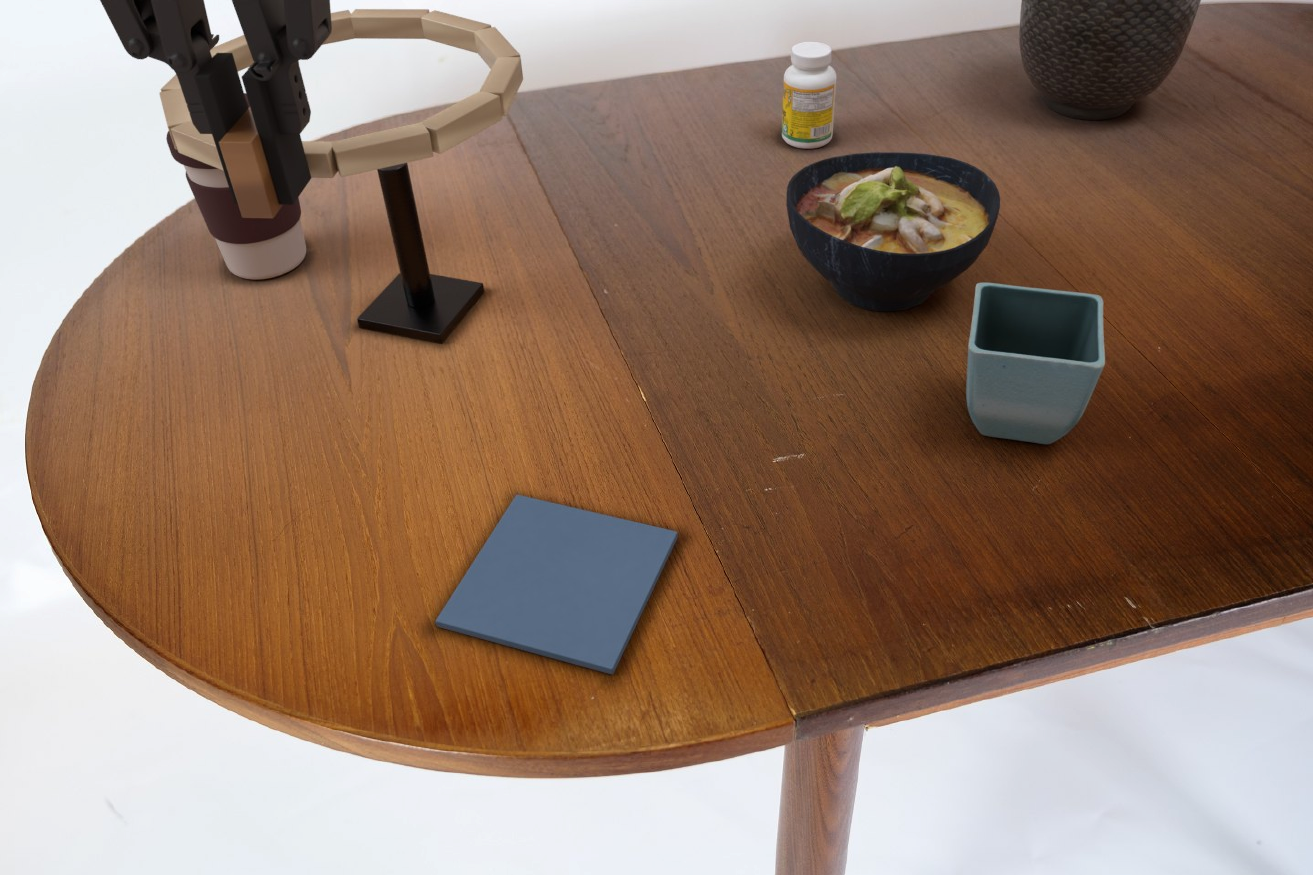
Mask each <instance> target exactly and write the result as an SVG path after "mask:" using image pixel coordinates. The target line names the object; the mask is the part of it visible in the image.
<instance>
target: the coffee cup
mask: <svg viewBox="0 0 1313 875" xmlns="http://www.w3.org/2000/svg"><path fill="white" fill-rule="evenodd" d="M244 95H245V98H246V102H247V105H248V108H249V107H250V105H249V101H248V98H247V94H246V92H244ZM165 139H166V144H167V146H168V150H169V152H170V155H171V157H172V159H173V160H175V161H176V162H177V163H178V164H180V165H182V166H183V167H184V170H185V178H186V181H187V184H188V185H189V188H190V190H191V193H192V195H193V197H194V199H195V203H196V204H197V206H198V209H199V211H200V213H201V216H202V218H203V220H204V222H205V225H206V227H207V230H208V231H209V233H210V235H211V236H212V237H213V238H214V239H215V242H216V244H217V246H218V249H219V251H220V253H221V256H222V259H223V260H224V262H225V265H226V267H227V269H228V270H229V272H230V273H232V274H233V275H235V276H236V277H239V278H242V279H246V280H267V279H272V278H276V277H279V276H282V275H284V274H286V273H289V272H291V271H293V270H294V269H295V268H297V267H298V266H300V265H301V263H302V262H303V261H304V259H305V257H306V254H307V245H306V240H305V234H304V230H303V225H302V220H301V216H302V208H301V203H300V198H299V197H300V196H299V197H298V198H297V200H296V201H295V203H294V204H293V205H282V207H281V208H280V210H279V211H278V212H277V214H276V215H275V217H274V218H243V217H242V215H241V212H240V209H239V205H238V204H234V202H233V199H232V195H231V192H230V189H229V186H228V183H227V180H226V177H225V173H224V171H223V170H221V169H218V168H216V167H213V166H211V165H208V164H206V163H203V162H201V161H198V160H196V159H193V158H191V157H188V156H186V155H183V154H181V153H179V152H178V149H177V150H176V149H175V147H174V144H173V141H172V138H171V135H170V132H169V130H168V131H167V134H166V138H165Z"/></svg>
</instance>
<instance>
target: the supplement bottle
mask: <svg viewBox="0 0 1313 875" xmlns="http://www.w3.org/2000/svg"><path fill="white" fill-rule="evenodd" d="M832 51H833V50H832V48H831V46H829V45H828V44H826V43H823V42H819V41H803V42H799V43H796V44H794V45H793V46H792V47H791V52H790V62H791V65H790V66H789V67H787V68H786V70H785V72H784V74H783V85H782V86H783V87H782V88H783V90H782V115H781V137H782V139H783V140H784V141H785V143H787V144H788V145H789V146H792V147H794V148H798V149H804V150H805V149H807V150H810V149H817V148H821V147H824V146H826V145H828V144H829V143H830V142H831V140H832V139H833V134H834V121H835V120H834V119H835V108H836V106H835V105H836V92H837V73H836V71H835V69H834V68H833V67H832V66H831V65H830V64H831V63H832Z"/></svg>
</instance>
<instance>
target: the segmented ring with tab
mask: <svg viewBox="0 0 1313 875" xmlns="http://www.w3.org/2000/svg"><path fill="white" fill-rule="evenodd" d="M331 24H332V31H331V34H330V35H329V37H328V38H327V39H326V41H325V42H324V43H323V44H322V45H321V46H323V45H328V44H333V43H334V44H335V43H339V42H344V41H350V40H354V39H357V40H358V39H361V40H362V39H365V40H366V39H368V40H369V39H373V40H374V39H375V40H376V39H377V40H380V39H384V40H386V39H388V40H389V39H391V40H392V39H393V40H394V39H395V40H420V39H421V40H428V41H432V42H434V43H439V44H441V45H446V46H449V47H454V48H457V49H461V50H464V51H468V52H471V53H475V54H477V55H478V56H479V57H480V58H481V60H482V61H483V62H484V63H485V64H486V65H487V67H488V68H489V69H490V71H489V72H488V75H487V76H486V78H485V80H484V81H483V84H482V85H481V87H480V89H479V90H478V91H477V92H475V93H473V94H471V95H469V96H468V97H466V98H464V99H461V100H460V101H458V102H455V103H453V104H452V105H450V106H448V107H447V108H445V109H443V110H441V111H439V112H437V113H434V114H433V115H431V116H430V117H428V118H425V119H424V120H422V121H420V122H417V123H416V122H415V123H412V124H407V125H403V126H399V127H398V126H397V127H394V128H389V129H384V130H378V131H375V132H370V133H366V134H360V135H357V136H352V137H347V138H342V139H337V140H334V141H333V140H332V141H316V140H315V141H311V140H309V141H308V140H302V144H303V148H304V152H305V155H306V159H307V163H308V167H309V170H310V174H311V179H334V177H335V176H336V175H337V173H338V174H339V176H340V177H341V178H346V177H350V176H355V175H358V174H359V175H360V174H363V173H368V172H374V171H376V170H377V169H381V168H386V167H390V166H395V165H399V164H404V163H407V164H408V163H412V162H416V161H420V160H425V159H430V158H433V157H434V153H436V154H438V155H442V154H444V153H446V152H448V151H449V150H450V149H452V148H455V147H456V146H458V145H460V144H461V143H463V142H465V141H467V140H469V139H470V138H472V137H474V136H476V135H477V134H479V133H481V132H483V131H485V130H486V129H488V128H490V127H491V126H493V125H495V124H498V123H499V122H501V121H503V117H506V116H507V115H508V112H509V111H510V108H511V106H512V104H513V102H514V100H515V98H516V96H517V94H518V91H519V89H520V87H521V85H522V84H523V81H524V73H523V65H522V58H521V53H520V52H518V50H517V49H515V47H514V46H513V45H512V44H511V43H510V42H509V41H508V39H507V38H506V37H505V36H504V35H503V34H502V33H501V32H500V31H499V30H498V28H496V26H492V24H490V23H485V22H481V21H477V20H474V19H470V18H467V17H463V16H458V15H455V14H450V13H447V12H443V11H440V10H435V9H434V10H432V11H430V9H428V8H413V9H412V8H406V9H405V8H370V9H369V8H355V9H354V10H353V11H352V12H351V11H350V10H349V9H347V10H346V9H345V10H339V11H334V12H331ZM210 52H211V56H212V58H213V56H214V55H215V54H216V53H232V54H233V57H234V61H235V64H236V67H237V71H238V72H241V71H243V70H245V69H248V68H249V67H250V66H251V65H252V64H253V63H254V61H253V58H252V55H251V53H250V50H249V47H248V44H247V42H246V39H245V36H244V34H242V35H240V36H238V37H235V38H232V39H230V40H227V41H226V42H223V43H220V44H218V45H215V46H214V47H213V48H212V49H211V50H210ZM158 95H159V98H160V102H161V107H162V111H163V114H164V118H165V122H166V126H167V129H168V131H169V132H170V135H171V138H172V141H173V144H174V147H175V149H176V150H177V149H178V152H179V153H181V154H183V155H186V156H188V157H191V158H193V159H196V160H198V161H201V162H203V163H206V164H208V165H211V166H213V167H216V168H218V169H221V170H223V167H222V164H221V161H220V158H219V155H218V151H217V148H216V145H215V142H214V139H213V136H212V134H200V133H199V132H198V130H197V129H196V128H195V126H194V125H193V123H192V120H191V117H190V114H189V113H190V112H189V111H188V108H187V103H186V101H185V98H184V95H183V92H182V89H181V86H180V83H179V80H178V77H177V75H176V74H175V75H174V76H172V77H171V78H170V79H169V81H167V82H166V83H165V84H164V85H163V86H162V87H161V88H160V91H159V94H158ZM219 145H220V148H221V151H222V154H223V158H224V161H225V164H226V167H227V170H228V173H229V177H230V180H231V183H232V186H233V189H234V193H235V196H236V199H237V202H238V205H239V209H240V212H241V215H242V217H243V218H274V217H275V215H276V214H277V212H278V211H279V210H280V208H281V207H282V205H283V204H279V203H278V199H277V196H276V192H275V189H274V185H273V182H272V179H271V175H270V172H269V168H268V165H267V161H266V158H265V154H264V151H263V147H262V144H261V141H260V137H259V134H258V132H257V129H256V125H255V122H254V118H253V115H252V112H251V108H250V107H249V108H248V110H247V111H246V112H245V113H244V114H243V115H242V116H241V118H240V119H239V120H238V121H237V122H236V123H235V125H234V126H233V127H232V128H231V129H230V130H229V131H228V133H226V134H225V136H224V137H223V138H222V139H221V140H220V141H219ZM223 171H224V170H223Z"/></svg>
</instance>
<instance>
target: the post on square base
mask: <svg viewBox="0 0 1313 875" xmlns="http://www.w3.org/2000/svg"><path fill="white" fill-rule="evenodd" d="M377 176H378V179H379V184H380V188H381V192H382V197H383V198H382V199H383V202H384V207H385V211H386V215H387V219H388V224H389V230H390V233H391V238H392V242H393V247H394V252H395V255H396V261H397V265H398V268H399V269H398V270H399V273H398V274H397V276H395V277H394V278H393V280H392V281H391V282H390V283H389V284H388V285H387V286H386V287H385V288H384V289H383V290H382V291H381V292H380V293H379V294H378V295H377V297H375V299H373V301H371V303H369V305H368V306H367V307H366V308H365V309H364V310H363V311H362V312H361V313H360V314H359V316H357V318H356V322H357V324H358V328H360V329H363V330H369V331H374V332H380V333H384V334H390V335H395V336H401V337H405V338H411V339H416V340H420V341H426V342H430V343H435V344H436V343H437V344H443V343H444V342H445V341H446V339H447V338H448V337H449V336H450V334H451V333H453V331H454V330H455V329H456V327H457V326H458V325H459V324H460V323H461V321H462V320H463V319H464V318H465V317H466V315H467V314H468V313H469V312H470V311H471V309H472V308H473V307H474V305H476V303H477V302H478V301H479V299H480V298H481V297H482V296H483V295H484V293H485V288H484V283H483V282H480V281H473V280H468V279H462V278H457V277H451V276H445V275H438V274H434V273H430V272H431V271H430V268H429V263H428V258H427V252H426V248H425V243H424V238H423V232H422V228H421V222H420V218H419V212H418V209H417V204H416V199H415V194H414V189H413V184H412V178H411V173H410V169H409V164H408V163H404V164H399V165H395V166H390V167H386V168H381V169H377Z"/></svg>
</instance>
